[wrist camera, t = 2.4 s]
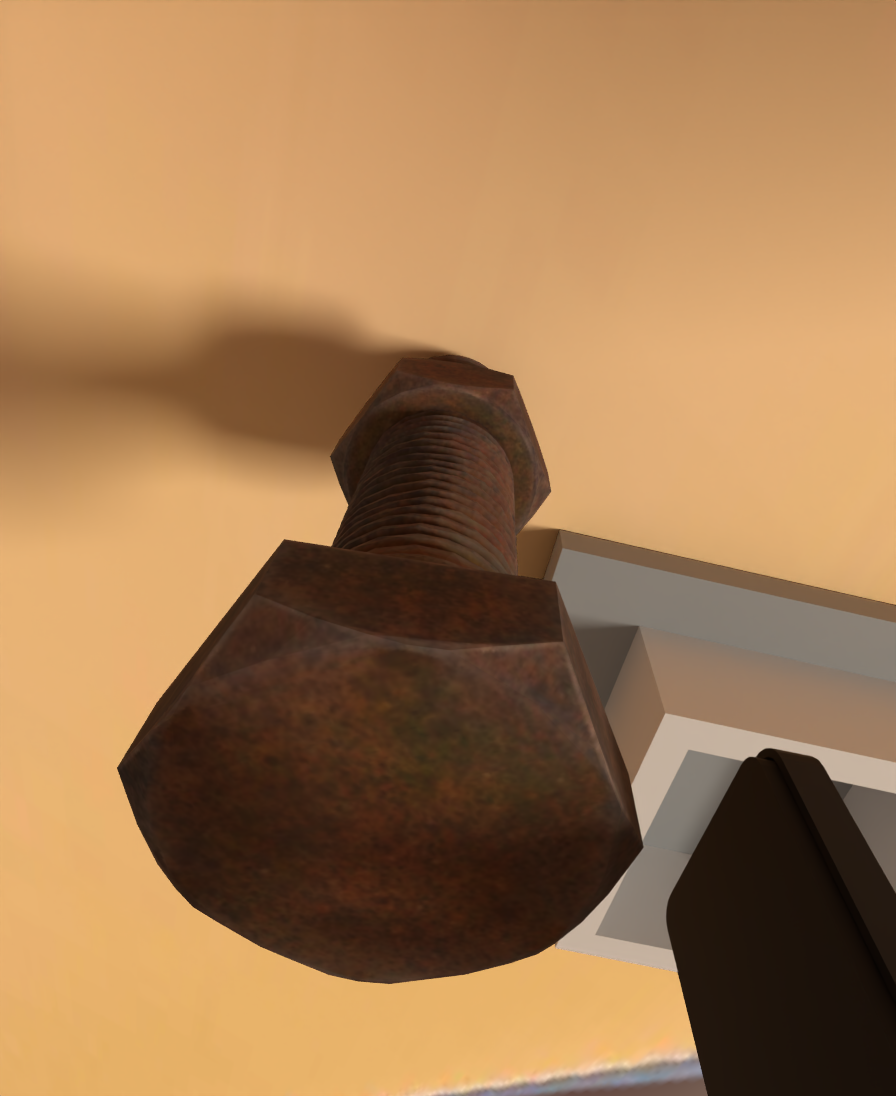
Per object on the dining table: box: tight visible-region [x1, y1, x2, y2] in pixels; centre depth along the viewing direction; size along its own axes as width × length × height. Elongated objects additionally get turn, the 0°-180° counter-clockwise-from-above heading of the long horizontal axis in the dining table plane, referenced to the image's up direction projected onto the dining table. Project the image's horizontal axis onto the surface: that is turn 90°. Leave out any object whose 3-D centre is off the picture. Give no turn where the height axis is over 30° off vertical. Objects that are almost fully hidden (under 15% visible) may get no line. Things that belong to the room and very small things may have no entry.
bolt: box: [117, 355, 644, 984], centre depth 14 cm, size 6×5×15 cm
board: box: [543, 530, 896, 972], centre depth 23 cm, size 20×14×7 cm
